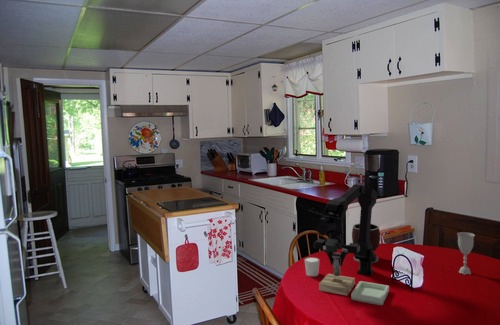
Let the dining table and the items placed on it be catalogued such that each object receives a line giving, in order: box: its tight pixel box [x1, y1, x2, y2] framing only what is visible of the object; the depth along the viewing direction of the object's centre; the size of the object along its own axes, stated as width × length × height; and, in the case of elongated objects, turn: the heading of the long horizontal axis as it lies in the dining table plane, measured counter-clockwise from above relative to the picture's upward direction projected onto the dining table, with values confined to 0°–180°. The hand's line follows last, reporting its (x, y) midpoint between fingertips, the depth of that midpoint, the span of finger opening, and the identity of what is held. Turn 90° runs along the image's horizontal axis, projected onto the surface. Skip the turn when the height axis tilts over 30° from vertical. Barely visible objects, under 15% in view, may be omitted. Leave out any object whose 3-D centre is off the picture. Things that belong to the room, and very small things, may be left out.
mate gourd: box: [351, 223, 381, 264], centre depth 204 cm, size 16×14×20 cm
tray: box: [350, 280, 390, 306], centre depth 162 cm, size 14×12×2 cm
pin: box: [331, 252, 341, 276], centre depth 170 cm, size 4×4×9 cm
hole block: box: [318, 273, 356, 296], centre depth 170 cm, size 12×12×3 cm
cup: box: [304, 256, 320, 277], centre depth 186 cm, size 7×7×7 cm
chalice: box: [456, 231, 476, 275], centre depth 181 cm, size 7×7×18 cm
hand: (336, 265), depth 170 cm, fingers closed on pin, 4 cm apart
